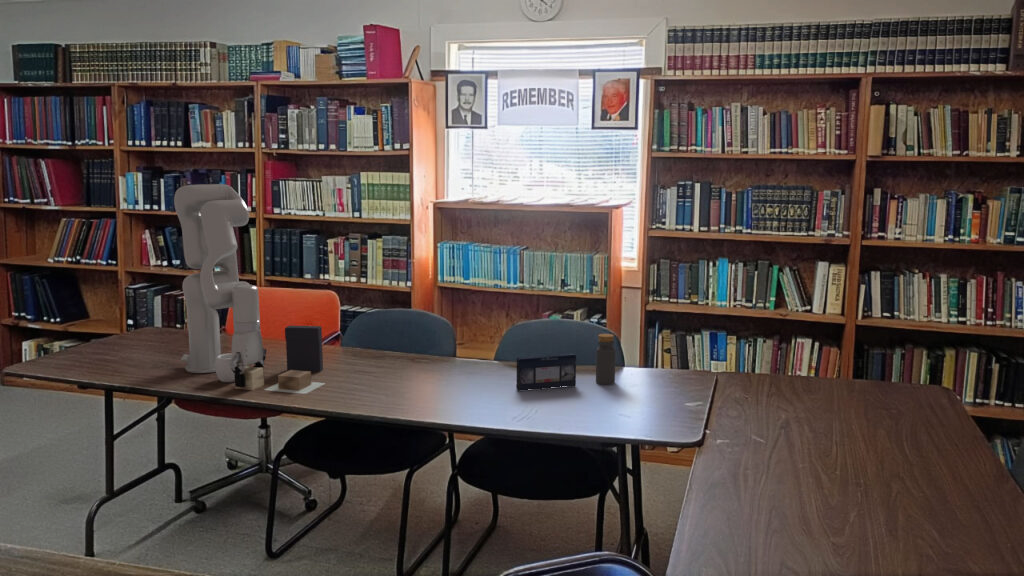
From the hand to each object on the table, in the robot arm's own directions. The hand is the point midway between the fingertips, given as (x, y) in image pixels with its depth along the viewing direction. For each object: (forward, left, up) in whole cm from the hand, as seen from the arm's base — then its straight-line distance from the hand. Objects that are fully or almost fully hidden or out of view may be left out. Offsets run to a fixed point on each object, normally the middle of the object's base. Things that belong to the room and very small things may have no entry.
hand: (249, 382), depth 257 cm
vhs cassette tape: (+85, +27, -2) cm, 89 cm away
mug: (-11, +8, -2) cm, 14 cm away
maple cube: (0, 0, -2) cm, 2 cm away
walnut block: (+13, +4, -1) cm, 14 cm away
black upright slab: (+6, +22, -2) cm, 23 cm away
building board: (+13, +4, -2) cm, 14 cm away
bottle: (+101, +38, -2) cm, 108 cm away
